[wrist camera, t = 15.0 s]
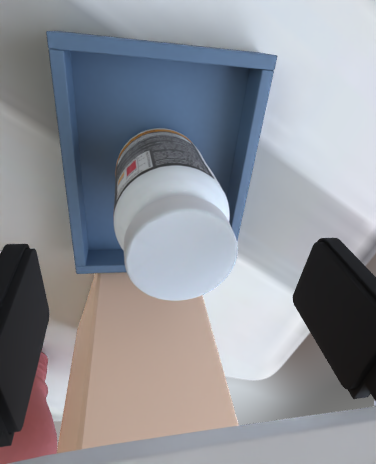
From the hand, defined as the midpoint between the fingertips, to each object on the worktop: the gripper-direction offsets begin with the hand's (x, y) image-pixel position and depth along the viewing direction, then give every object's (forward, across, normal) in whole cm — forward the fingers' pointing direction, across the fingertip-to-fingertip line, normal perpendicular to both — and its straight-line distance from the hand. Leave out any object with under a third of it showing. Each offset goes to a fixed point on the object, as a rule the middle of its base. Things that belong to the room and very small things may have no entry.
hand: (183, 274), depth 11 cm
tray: (+12, 0, +1) cm, 12 cm away
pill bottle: (+12, 0, +1) cm, 12 cm away
